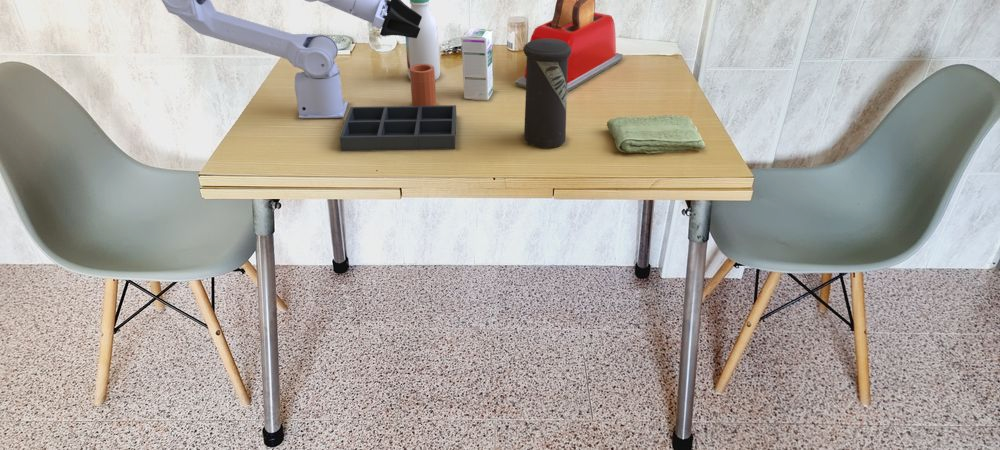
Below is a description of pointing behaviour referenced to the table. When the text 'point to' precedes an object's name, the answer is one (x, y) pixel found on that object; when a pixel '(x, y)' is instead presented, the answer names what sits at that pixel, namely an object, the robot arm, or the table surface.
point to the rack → (399, 128)
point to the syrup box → (477, 64)
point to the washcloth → (655, 134)
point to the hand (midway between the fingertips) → (419, 27)
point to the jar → (423, 85)
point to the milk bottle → (424, 39)
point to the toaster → (580, 40)
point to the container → (546, 92)
